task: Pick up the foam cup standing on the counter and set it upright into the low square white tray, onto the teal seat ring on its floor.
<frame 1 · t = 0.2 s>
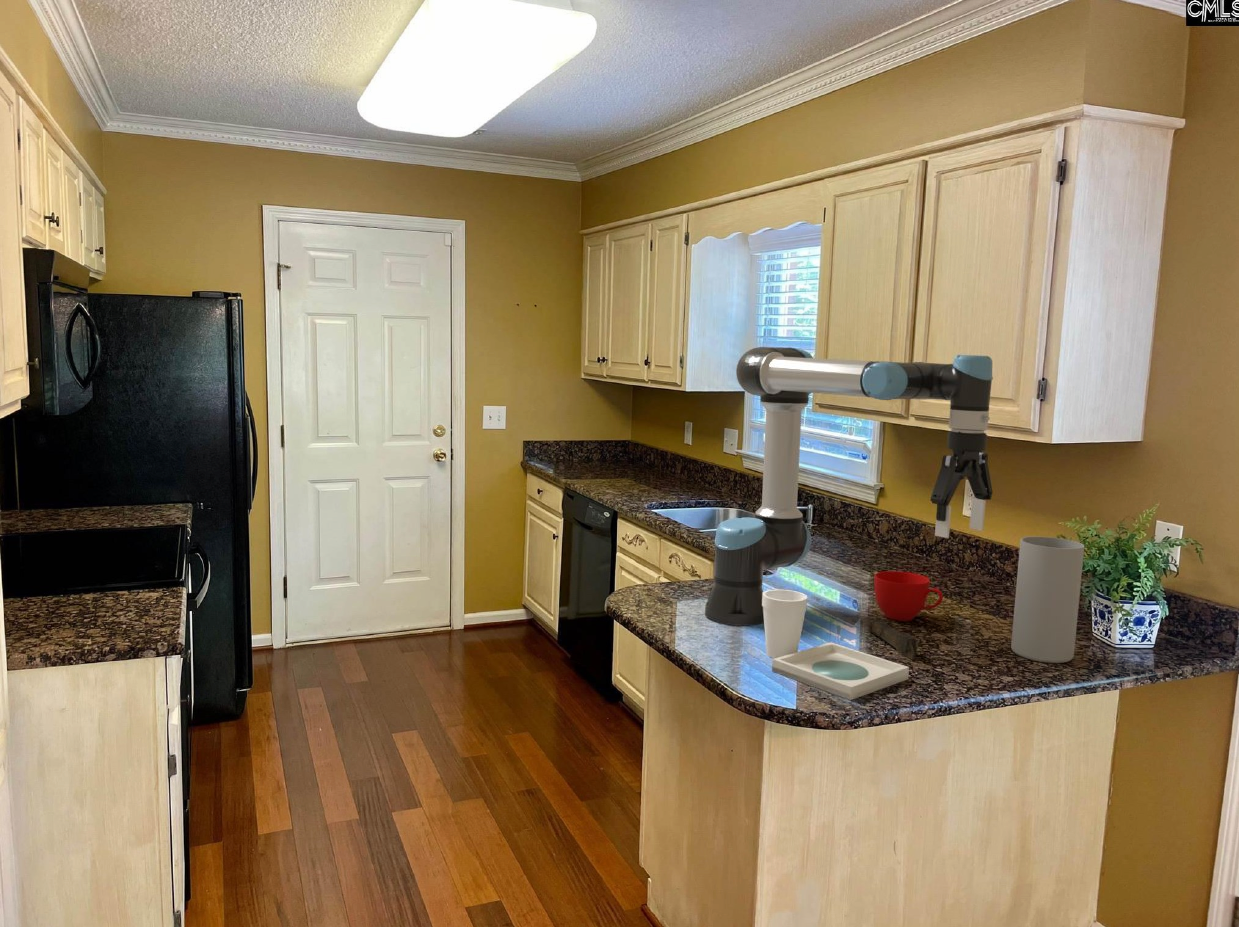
hand: (959, 533, 194), 28 cm above the worktop, tool pointing down, fingers open, 13 cm apart
hand tool: (896, 648, 207), on the worktop
cylinder vase: (1041, 655, 204), on the worktop
foam cup: (781, 655, 199), on the worktop
ceramic cup: (906, 619, 229), on the worktop
square white tray: (839, 675, 187), on the worktop
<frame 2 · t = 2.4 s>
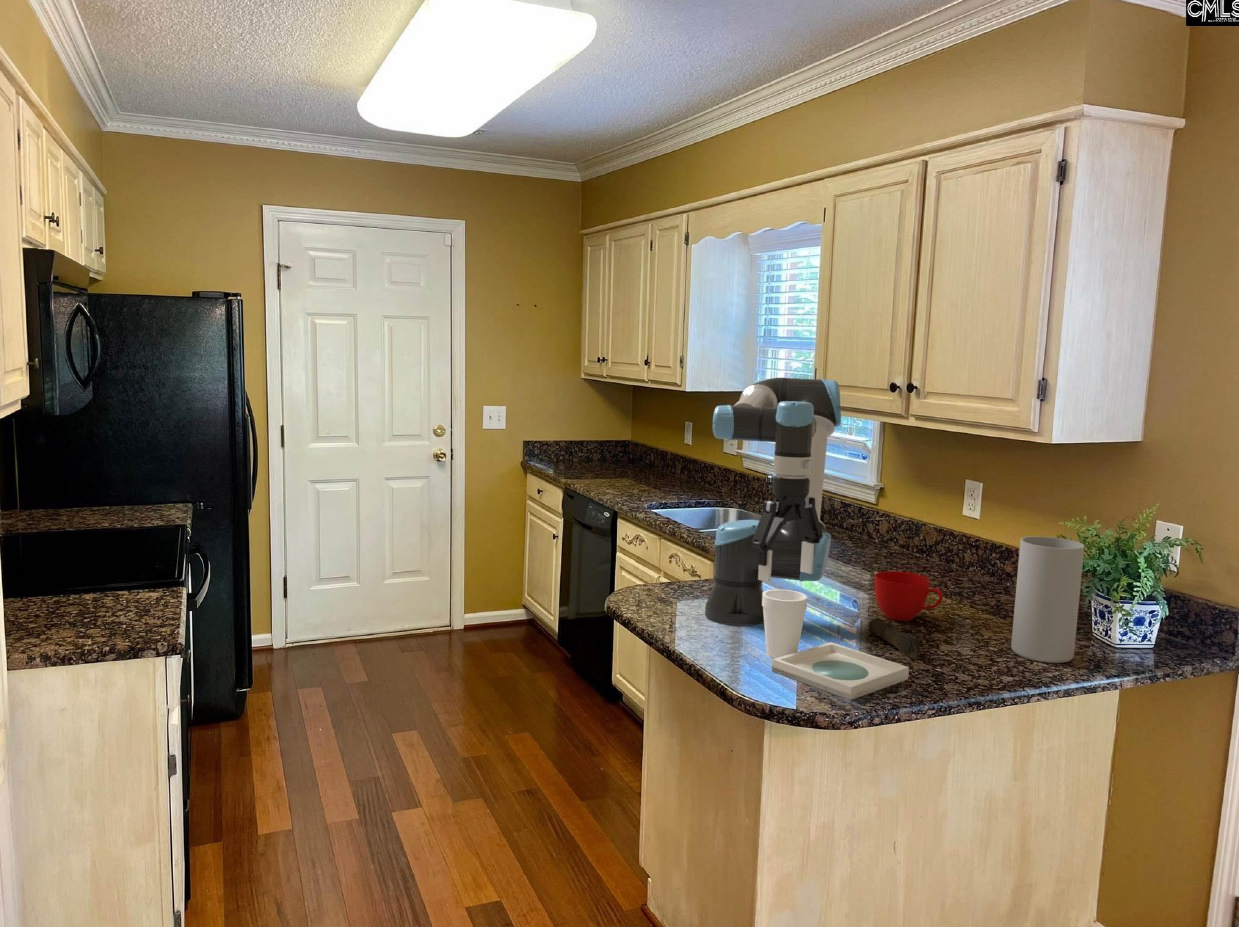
hand: (785, 576, 196), 17 cm above the worktop, tool pointing down, fingers open, 13 cm apart
nothing on the worktop moved.
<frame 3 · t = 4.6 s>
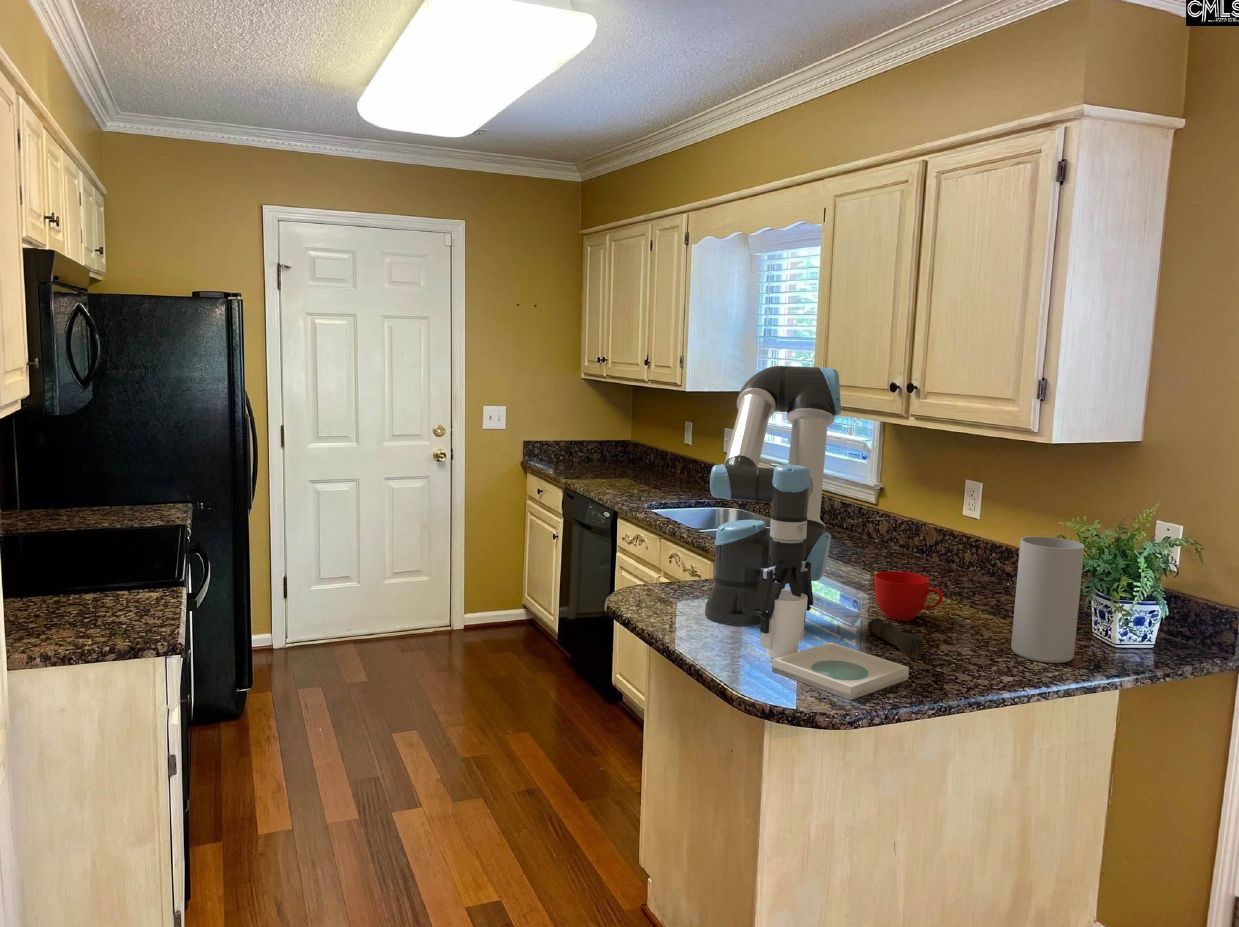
hand: (782, 643, 198), 3 cm above the worktop, tool pointing down, fingers closed on foam cup, 9 cm apart
foam cup: (781, 655, 199), on the worktop, touching gripper
everything else where it was.
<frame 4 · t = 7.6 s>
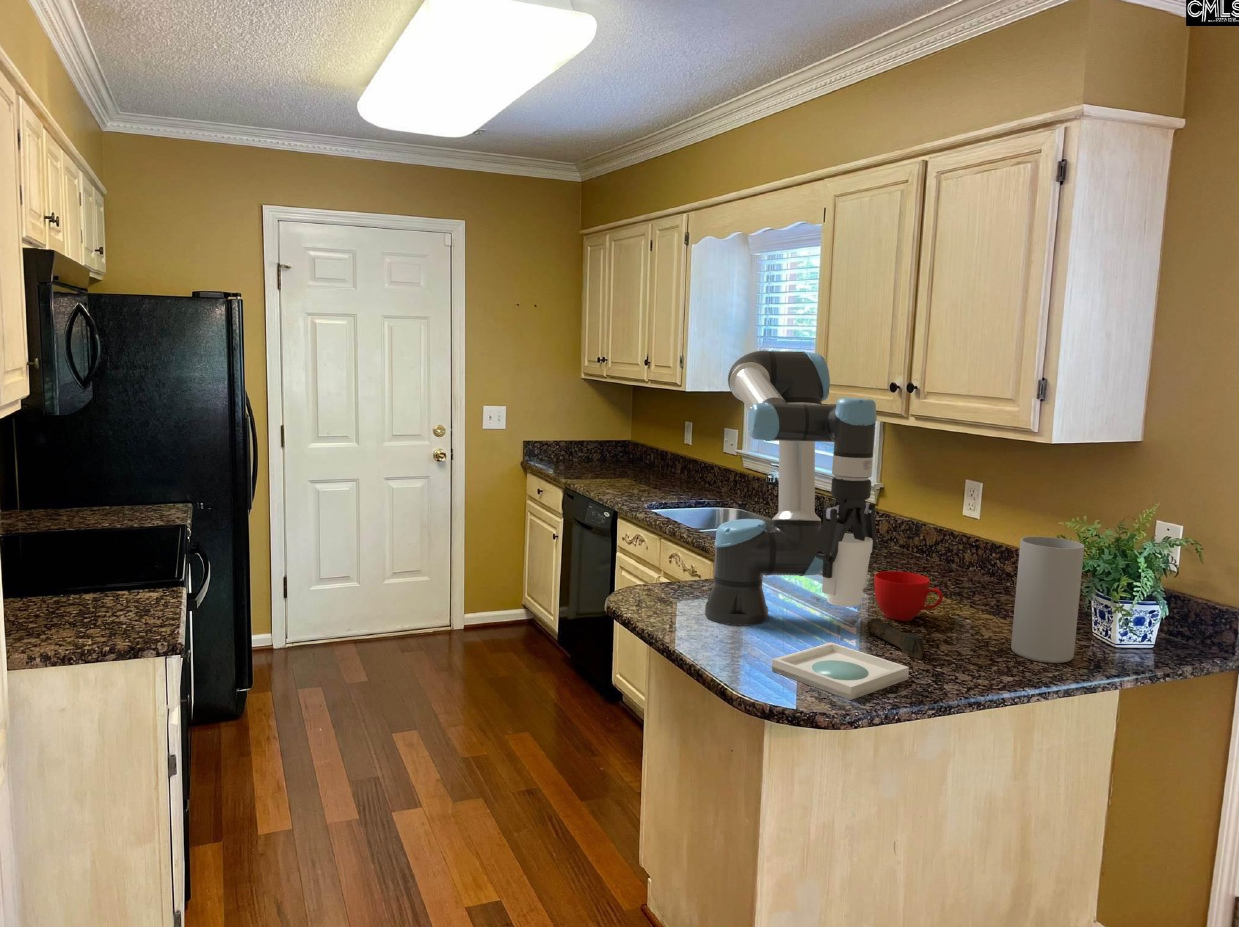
hand: (844, 589, 185), 18 cm above the worktop, tool pointing down, fingers closed on foam cup, 9 cm apart
foam cup: (843, 603, 185), point 15 cm above the worktop, touching gripper
everything else where it was.
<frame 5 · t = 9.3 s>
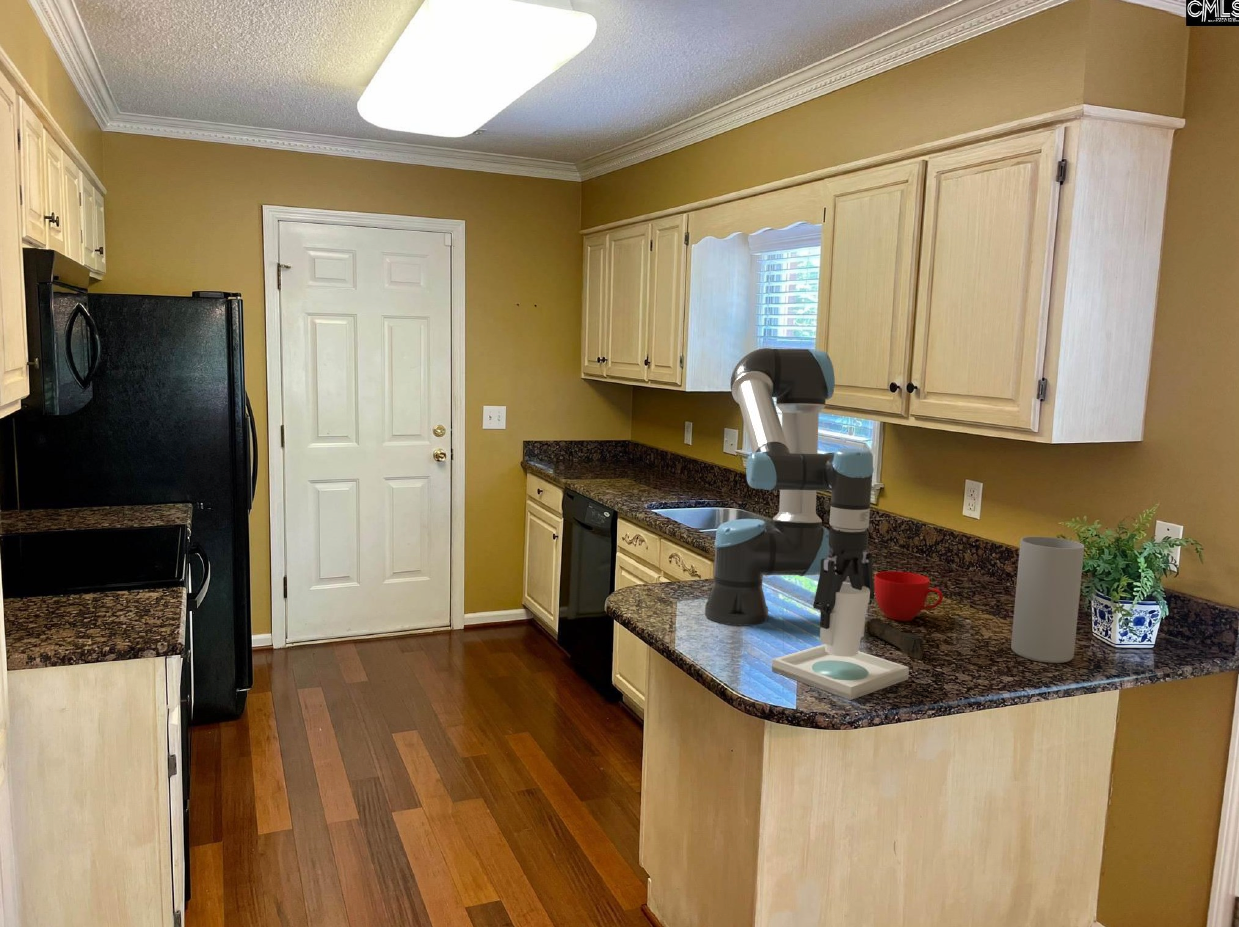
hand: (842, 639, 186), 7 cm above the worktop, tool pointing down, fingers closed on foam cup, 9 cm apart
foam cup: (841, 652, 186), point 5 cm above the worktop, touching gripper
everything else where it was.
when the fingers open (5 cm above the worktop, at t = 10.8 s): foam cup drops 1 cm, resting on square white tray.
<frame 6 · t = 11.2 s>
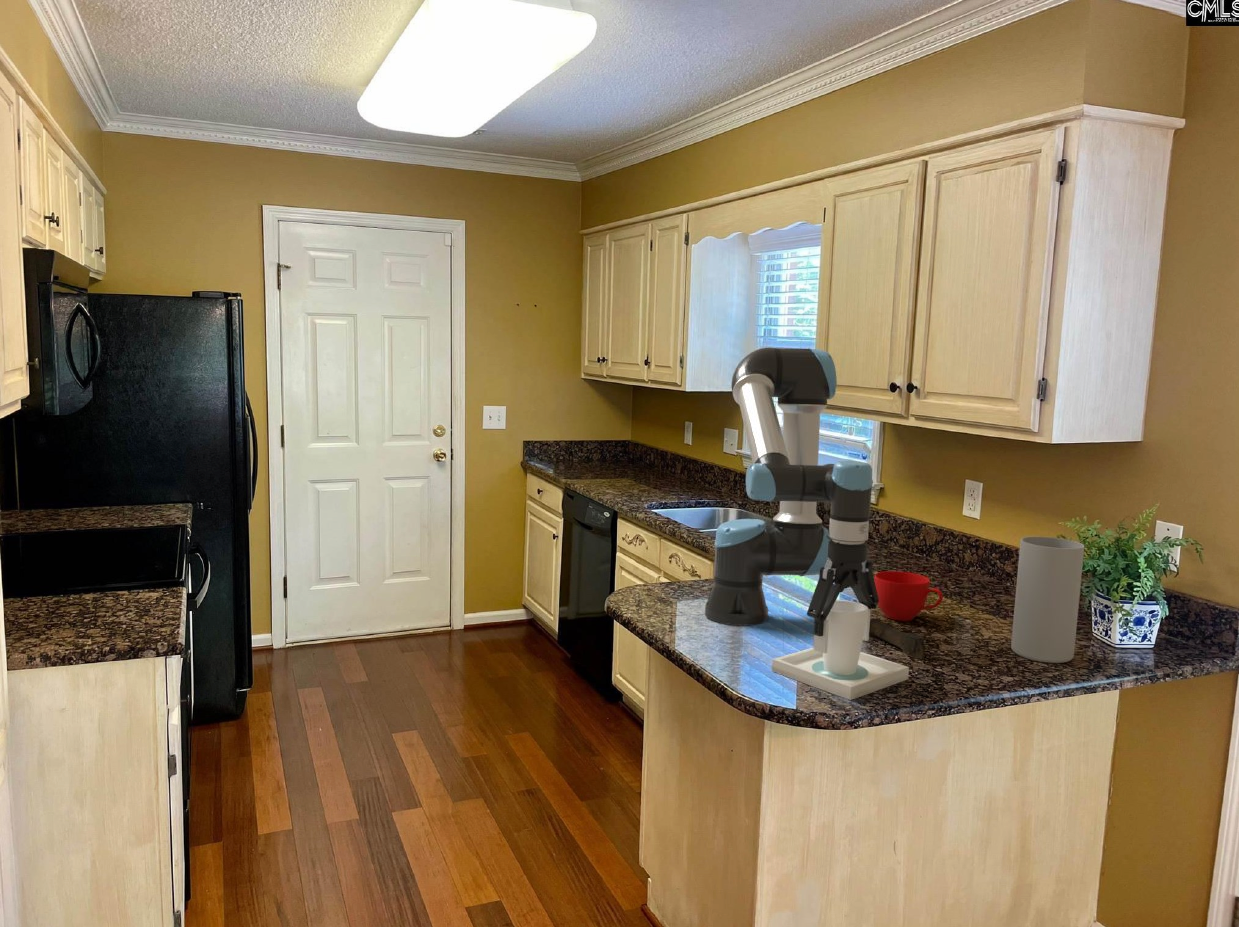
hand: (841, 645, 186), 6 cm above the worktop, tool pointing down, fingers open, 13 cm apart
foam cup: (839, 670, 187), point 1 cm above the worktop, touching square white tray
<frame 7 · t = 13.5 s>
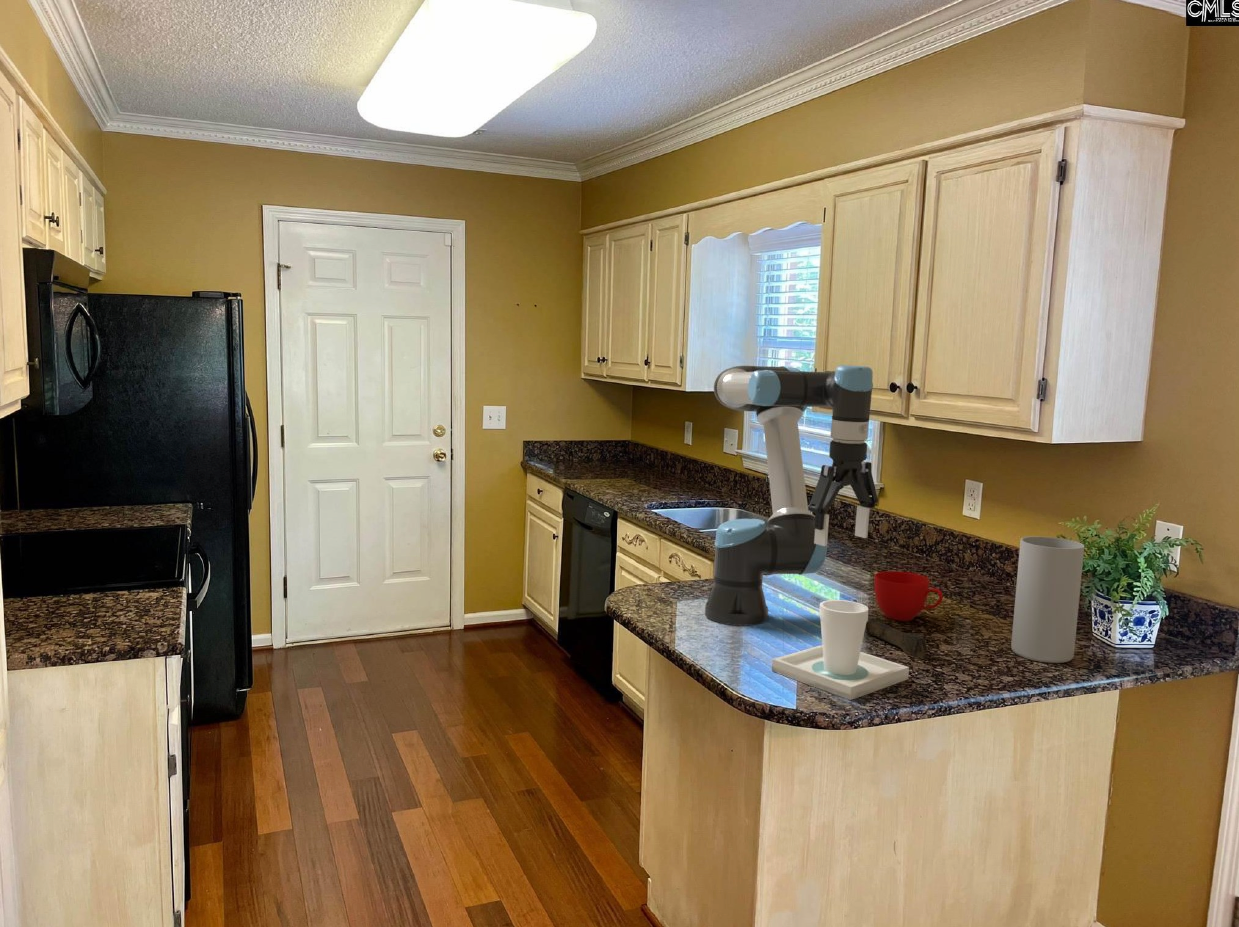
hand: (841, 540, 197), 25 cm above the worktop, tool pointing down, fingers open, 13 cm apart
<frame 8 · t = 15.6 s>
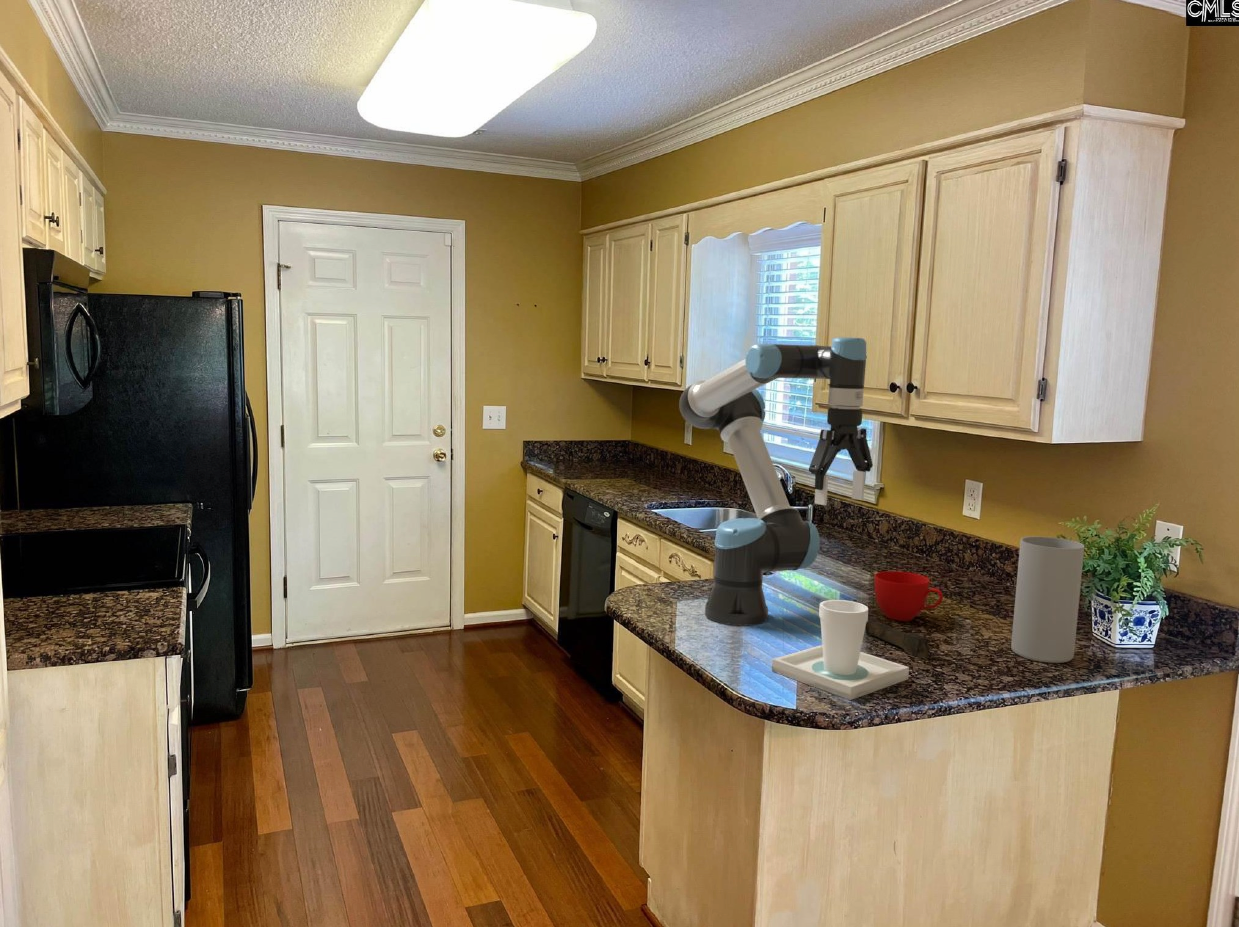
hand: (839, 501, 210), 31 cm above the worktop, tool pointing down, fingers open, 13 cm apart
at the end: foam cup inside the target area on the square white tray (0.1 cm from its centre), point 1.0 cm above the square white tray's base; foam cup tilted 0°; the gripper is holding nothing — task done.
